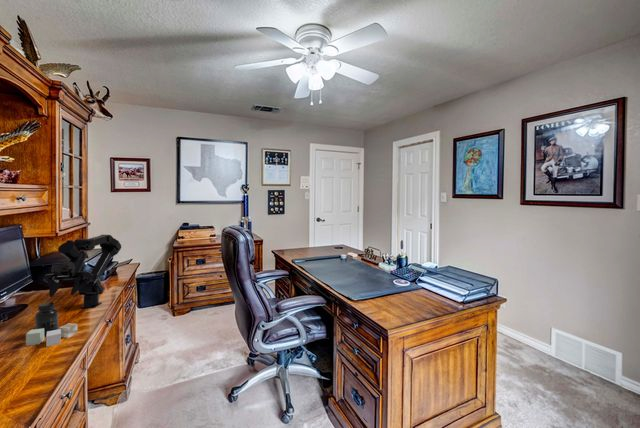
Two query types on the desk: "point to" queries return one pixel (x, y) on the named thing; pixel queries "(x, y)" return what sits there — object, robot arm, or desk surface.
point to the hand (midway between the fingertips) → (61, 296)
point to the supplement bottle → (46, 317)
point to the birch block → (68, 330)
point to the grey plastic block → (53, 337)
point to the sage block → (34, 337)
